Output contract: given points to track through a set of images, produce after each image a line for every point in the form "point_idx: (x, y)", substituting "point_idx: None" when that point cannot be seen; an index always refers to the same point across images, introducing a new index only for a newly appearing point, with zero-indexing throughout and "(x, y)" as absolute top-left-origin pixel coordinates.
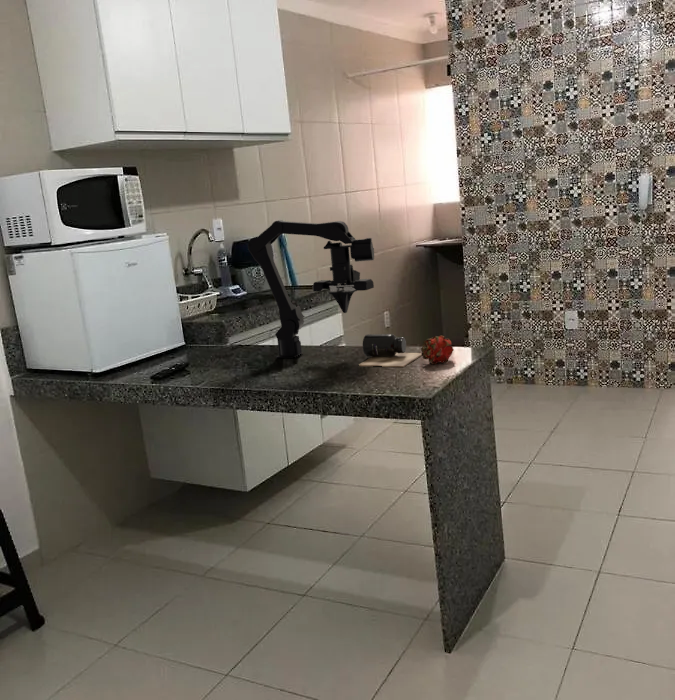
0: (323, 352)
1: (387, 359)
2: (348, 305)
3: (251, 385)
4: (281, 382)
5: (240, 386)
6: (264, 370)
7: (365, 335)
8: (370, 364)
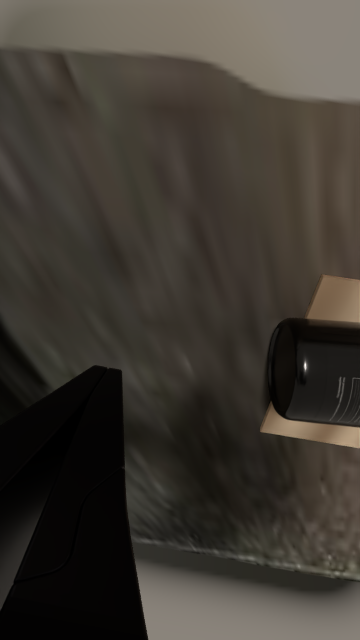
0: (39, 229)
1: None
2: (123, 430)
3: None
4: None
5: None
6: None
7: (295, 412)
8: (299, 433)
